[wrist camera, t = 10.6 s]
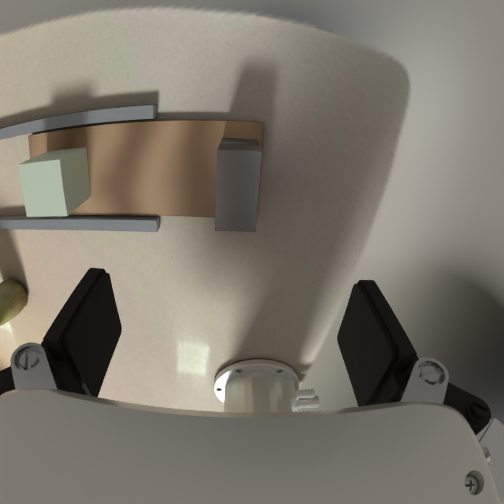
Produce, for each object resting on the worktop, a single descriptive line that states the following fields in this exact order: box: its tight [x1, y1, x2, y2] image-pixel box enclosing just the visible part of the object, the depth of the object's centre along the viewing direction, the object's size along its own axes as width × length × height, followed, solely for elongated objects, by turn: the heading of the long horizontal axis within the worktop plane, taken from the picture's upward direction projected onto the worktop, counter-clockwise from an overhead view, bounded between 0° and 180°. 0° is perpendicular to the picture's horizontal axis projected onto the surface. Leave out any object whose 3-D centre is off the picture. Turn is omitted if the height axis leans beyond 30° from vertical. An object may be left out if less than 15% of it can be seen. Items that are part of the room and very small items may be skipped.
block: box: [18, 147, 91, 217], centre depth 23 cm, size 5×5×5 cm
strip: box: [28, 120, 264, 232], centre depth 23 cm, size 24×9×7 cm, turn 86°
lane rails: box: [0, 105, 160, 232], centre depth 25 cm, size 27×12×1 cm, turn 86°
